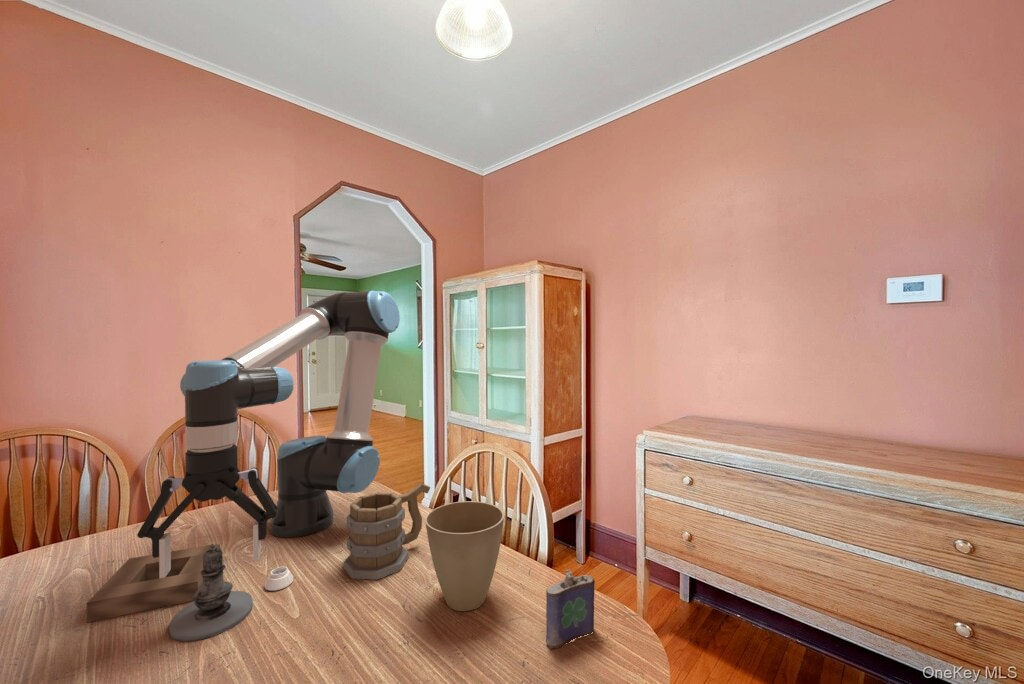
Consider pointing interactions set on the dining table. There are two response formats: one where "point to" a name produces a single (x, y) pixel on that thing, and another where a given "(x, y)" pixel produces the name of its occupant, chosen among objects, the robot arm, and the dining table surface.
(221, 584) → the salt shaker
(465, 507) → the plant pot
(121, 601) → the pocket holder
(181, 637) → the slate mat
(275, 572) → the white tapered ring
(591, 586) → the flask
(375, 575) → the tankard
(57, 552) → the dining table surface
